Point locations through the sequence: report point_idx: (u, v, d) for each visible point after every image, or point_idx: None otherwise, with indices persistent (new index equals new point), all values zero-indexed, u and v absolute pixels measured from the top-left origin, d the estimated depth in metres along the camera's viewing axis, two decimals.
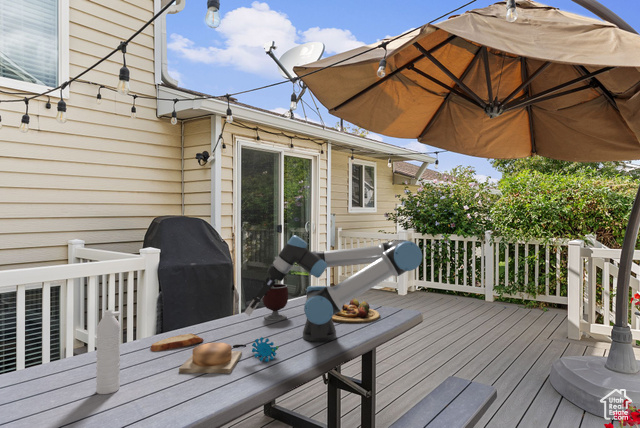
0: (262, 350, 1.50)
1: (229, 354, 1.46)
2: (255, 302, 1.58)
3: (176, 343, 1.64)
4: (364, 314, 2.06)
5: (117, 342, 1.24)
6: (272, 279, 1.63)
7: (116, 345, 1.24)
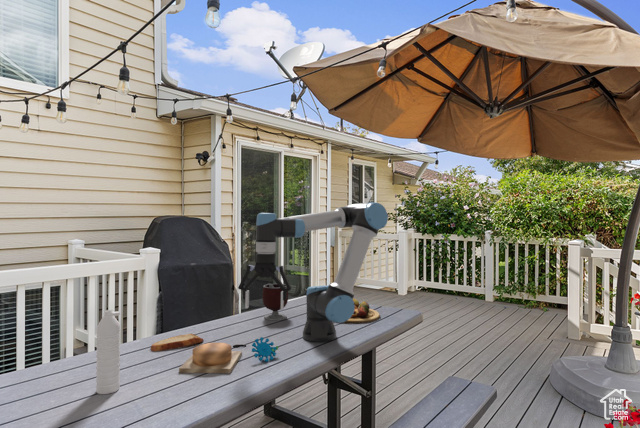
0: (262, 350, 1.50)
1: (229, 354, 1.46)
2: (286, 292, 1.52)
3: (176, 343, 1.64)
4: (364, 314, 2.06)
5: (117, 342, 1.24)
6: (275, 265, 1.53)
7: (116, 345, 1.24)
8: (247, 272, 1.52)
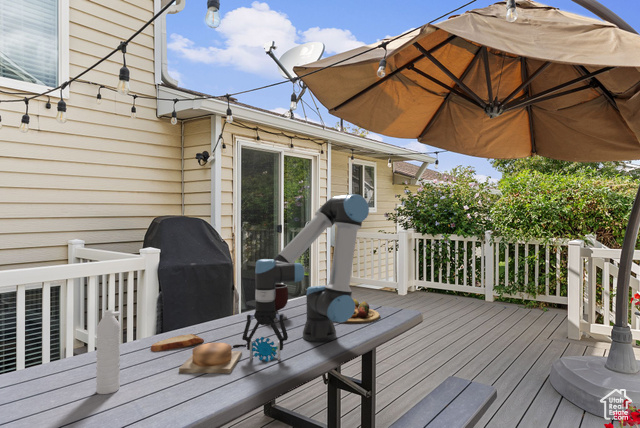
0: (262, 349, 1.51)
1: (229, 354, 1.46)
2: None
3: (176, 344, 1.64)
4: (364, 314, 2.06)
5: (117, 342, 1.24)
6: (275, 312, 1.52)
7: (116, 345, 1.24)
8: (248, 322, 1.51)
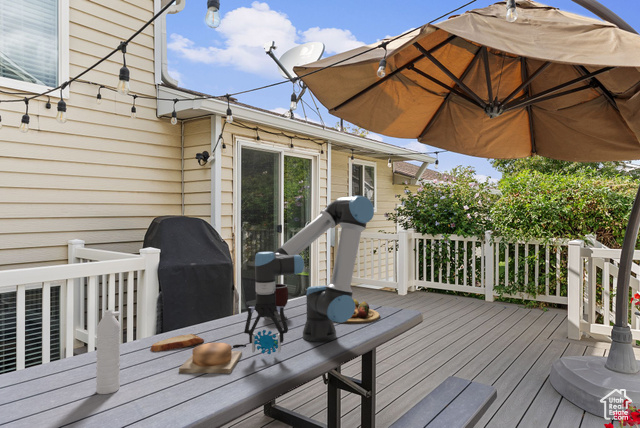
0: (264, 342, 1.51)
1: (229, 354, 1.46)
2: None
3: (176, 344, 1.64)
4: (364, 314, 2.06)
5: (117, 342, 1.24)
6: None
7: (116, 345, 1.24)
8: (249, 315, 1.51)
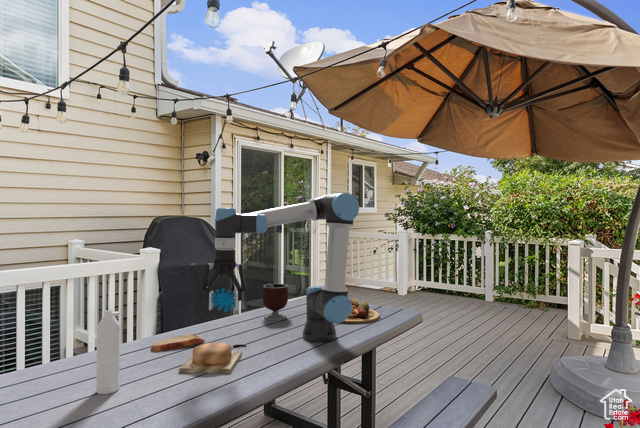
0: (222, 300, 1.47)
1: (229, 354, 1.46)
2: (241, 293, 1.48)
3: (176, 344, 1.64)
4: (364, 314, 2.06)
5: (117, 342, 1.24)
6: (235, 262, 1.49)
7: (116, 345, 1.24)
8: (207, 271, 1.47)
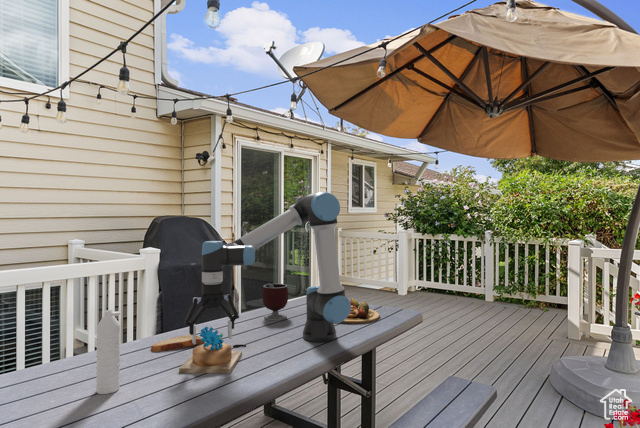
0: (211, 339, 1.46)
1: (229, 354, 1.46)
2: None
3: (176, 344, 1.63)
4: (364, 315, 2.05)
5: (117, 342, 1.24)
6: None
7: (116, 345, 1.24)
8: (194, 305, 1.43)
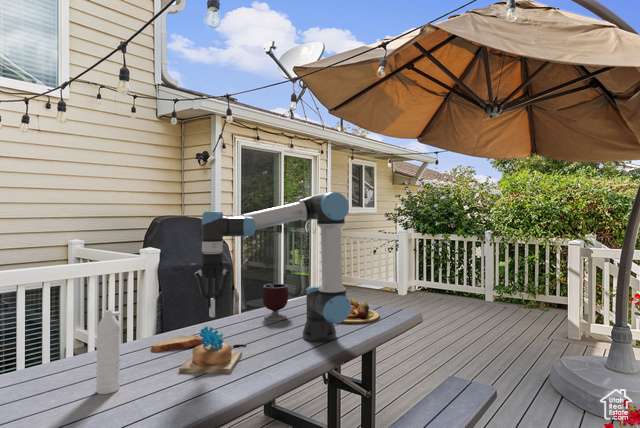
0: (211, 339, 1.46)
1: (229, 354, 1.46)
2: None
3: (176, 345, 1.63)
4: (364, 315, 2.05)
5: (117, 342, 1.24)
6: None
7: (116, 345, 1.24)
8: (200, 279, 1.44)
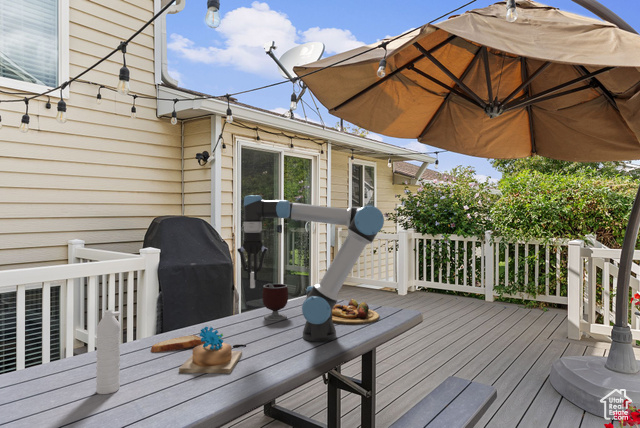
0: (211, 339, 1.46)
1: (229, 354, 1.46)
2: (257, 273, 1.68)
3: (176, 345, 1.62)
4: (364, 315, 2.05)
5: (117, 342, 1.24)
6: (262, 244, 1.68)
7: (116, 345, 1.24)
8: (241, 254, 1.67)
